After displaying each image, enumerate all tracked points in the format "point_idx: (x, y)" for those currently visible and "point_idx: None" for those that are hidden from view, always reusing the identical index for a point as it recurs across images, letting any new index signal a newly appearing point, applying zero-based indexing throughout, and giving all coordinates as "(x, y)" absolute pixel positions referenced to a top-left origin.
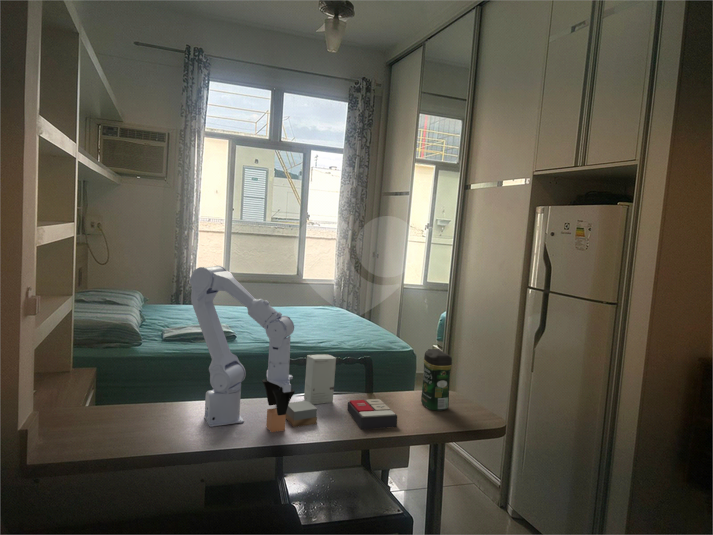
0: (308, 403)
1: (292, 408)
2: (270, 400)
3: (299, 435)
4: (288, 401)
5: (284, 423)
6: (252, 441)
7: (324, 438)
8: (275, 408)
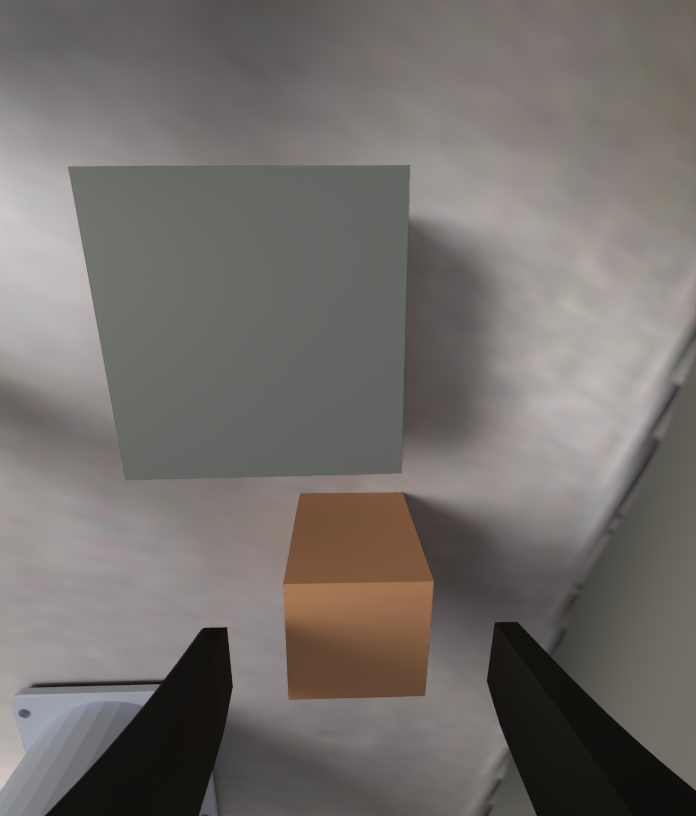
0: (196, 206)
1: (301, 460)
2: (214, 736)
3: (524, 431)
4: (675, 789)
5: (410, 525)
6: (469, 689)
7: (662, 278)
8: (291, 634)
